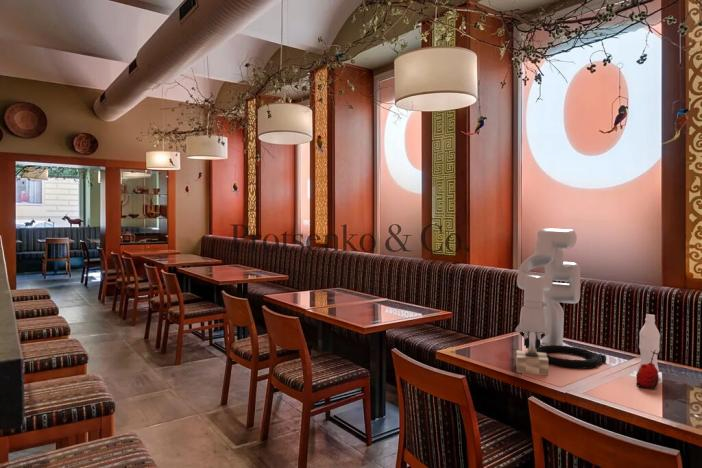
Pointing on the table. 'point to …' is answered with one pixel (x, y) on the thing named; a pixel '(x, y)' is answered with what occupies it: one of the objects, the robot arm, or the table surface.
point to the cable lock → (593, 357)
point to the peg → (532, 344)
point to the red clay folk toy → (647, 375)
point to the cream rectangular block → (532, 363)
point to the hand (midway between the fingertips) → (532, 347)
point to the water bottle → (649, 341)
